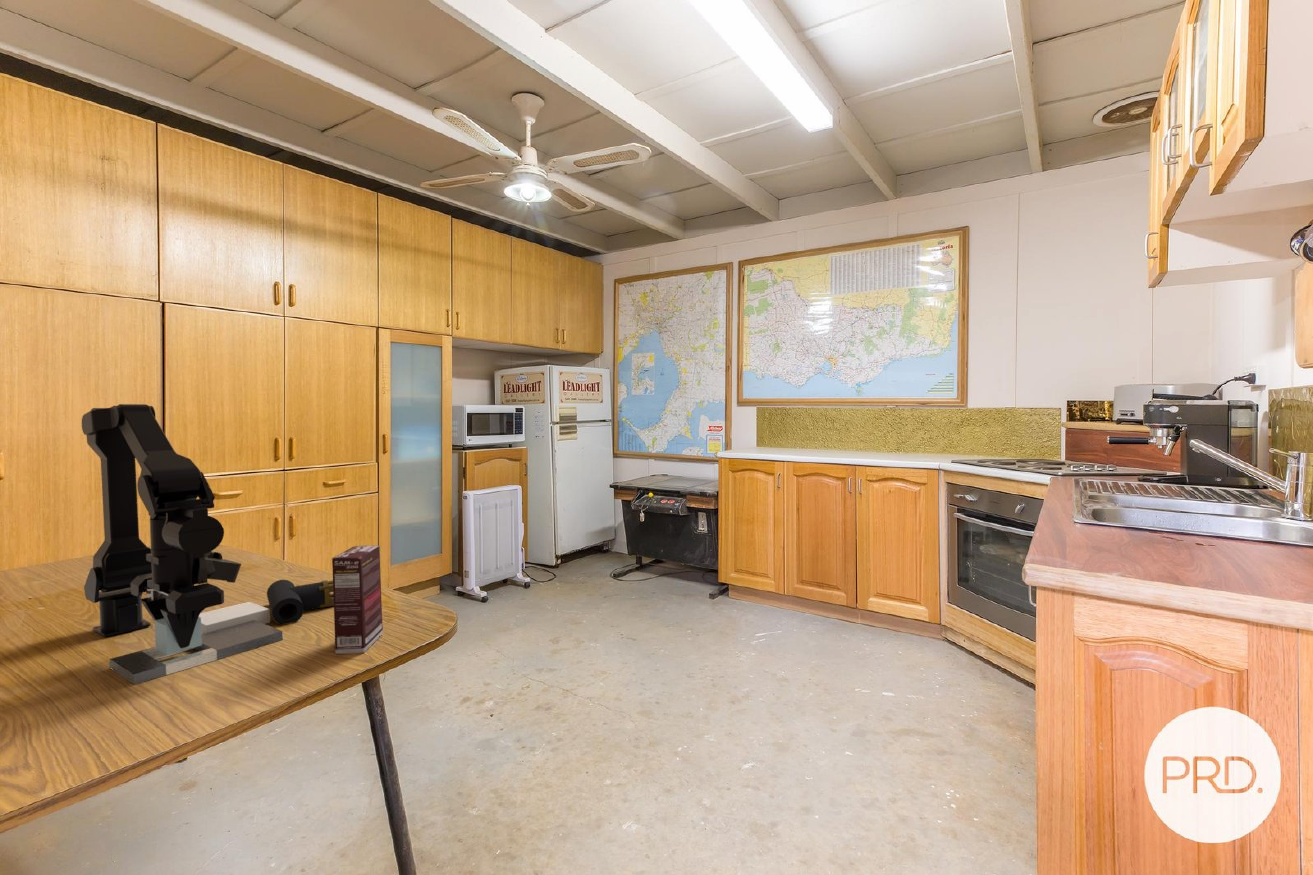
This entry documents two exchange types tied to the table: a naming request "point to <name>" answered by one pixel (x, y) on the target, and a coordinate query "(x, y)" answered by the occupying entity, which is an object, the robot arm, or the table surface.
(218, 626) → the stand
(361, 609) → the supplement box
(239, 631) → the plate
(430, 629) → the table surface
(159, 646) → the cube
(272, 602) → the pipe connector
